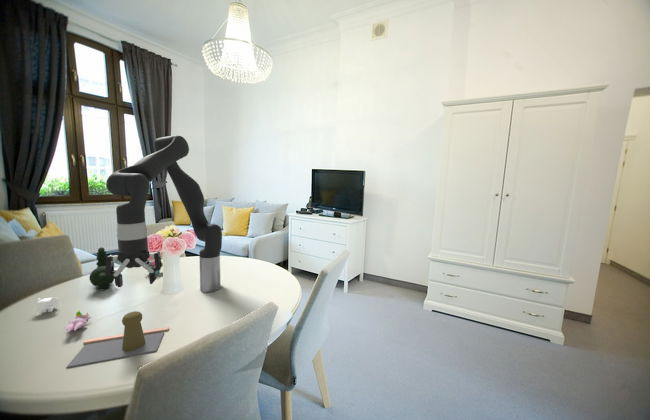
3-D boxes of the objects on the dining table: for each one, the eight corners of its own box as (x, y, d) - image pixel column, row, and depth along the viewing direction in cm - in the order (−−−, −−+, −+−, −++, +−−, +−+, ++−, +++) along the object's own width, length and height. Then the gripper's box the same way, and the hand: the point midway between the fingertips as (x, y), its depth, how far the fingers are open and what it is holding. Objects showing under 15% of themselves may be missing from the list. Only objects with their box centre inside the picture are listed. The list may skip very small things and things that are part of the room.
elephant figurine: (28, 317, 95) (27, 302, 94) (47, 306, 103) (46, 293, 102) (50, 315, 96) (48, 301, 95) (66, 305, 104) (65, 292, 103)
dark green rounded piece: (91, 283, 129) (89, 296, 111) (88, 247, 128) (86, 255, 110) (115, 278, 136) (117, 291, 117) (112, 244, 135) (114, 251, 116)
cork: (133, 352, 78) (131, 320, 76) (117, 349, 79) (114, 317, 77) (149, 340, 83) (148, 310, 82) (134, 338, 84) (133, 307, 83)
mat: (164, 333, 88) (164, 332, 88) (156, 351, 79) (156, 350, 79) (85, 345, 80) (85, 344, 80) (66, 368, 71) (66, 366, 71)
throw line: (169, 328, 91) (168, 326, 91) (168, 330, 90) (168, 329, 90) (85, 341, 82) (85, 339, 82) (83, 344, 81) (83, 342, 81)
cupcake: (153, 270, 146) (153, 250, 144) (166, 271, 145) (166, 251, 143) (141, 275, 137) (140, 254, 136) (155, 276, 136) (154, 255, 135)
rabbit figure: (72, 323, 94) (58, 339, 82) (71, 308, 94) (58, 321, 82) (94, 319, 97) (84, 333, 85) (93, 304, 98) (84, 316, 85)
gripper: (161, 232, 85) (164, 277, 87) (109, 234, 79) (114, 282, 82) (156, 237, 78) (159, 286, 80) (98, 240, 72) (103, 292, 75)
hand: (136, 284), depth 81 cm, fingers open, 8 cm apart
